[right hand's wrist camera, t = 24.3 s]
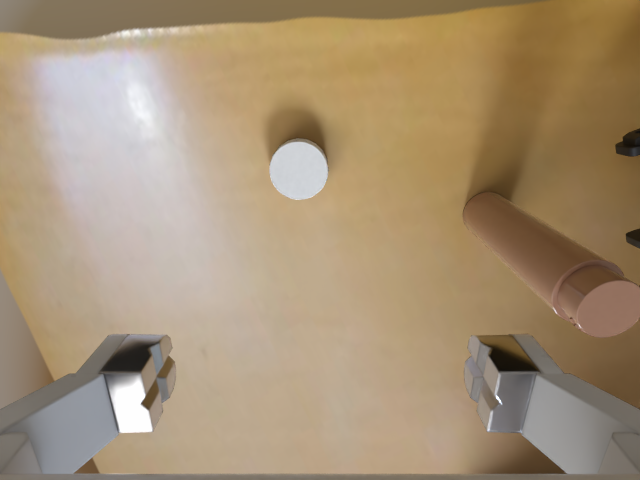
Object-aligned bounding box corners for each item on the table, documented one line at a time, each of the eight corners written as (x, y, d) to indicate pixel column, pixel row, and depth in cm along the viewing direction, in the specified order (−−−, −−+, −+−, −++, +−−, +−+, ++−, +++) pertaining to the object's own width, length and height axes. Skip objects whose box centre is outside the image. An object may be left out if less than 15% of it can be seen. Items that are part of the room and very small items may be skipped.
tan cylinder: (476, 242, 41) (590, 354, 24) (454, 209, 40) (557, 304, 23) (515, 216, 40) (663, 315, 23) (493, 182, 39) (633, 260, 22)
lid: (328, 138, 37) (329, 141, 35) (327, 194, 39) (328, 200, 37) (271, 137, 37) (267, 140, 35) (272, 193, 39) (269, 199, 37)
